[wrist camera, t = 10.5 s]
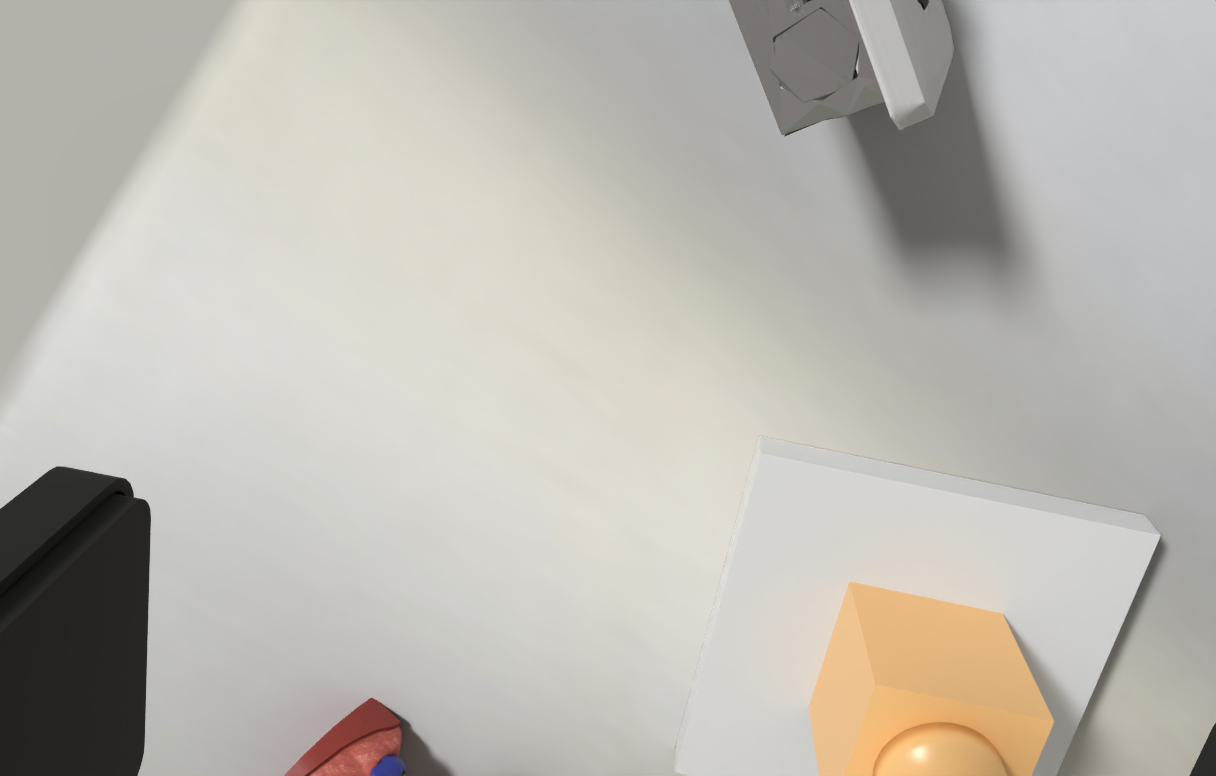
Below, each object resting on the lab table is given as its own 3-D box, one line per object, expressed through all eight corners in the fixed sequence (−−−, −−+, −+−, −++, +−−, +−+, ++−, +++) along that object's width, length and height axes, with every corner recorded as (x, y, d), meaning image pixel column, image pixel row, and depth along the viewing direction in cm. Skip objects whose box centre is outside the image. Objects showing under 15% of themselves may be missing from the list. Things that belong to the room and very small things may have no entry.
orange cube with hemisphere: (1002, 613, 39) (1064, 743, 33) (954, 737, 41) (1003, 883, 35) (849, 581, 39) (880, 704, 33) (808, 707, 41) (830, 847, 35)
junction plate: (1144, 514, 39) (1212, 598, 34) (1015, 816, 44) (1058, 928, 39) (758, 435, 39) (769, 507, 34) (675, 746, 44) (672, 850, 39)
